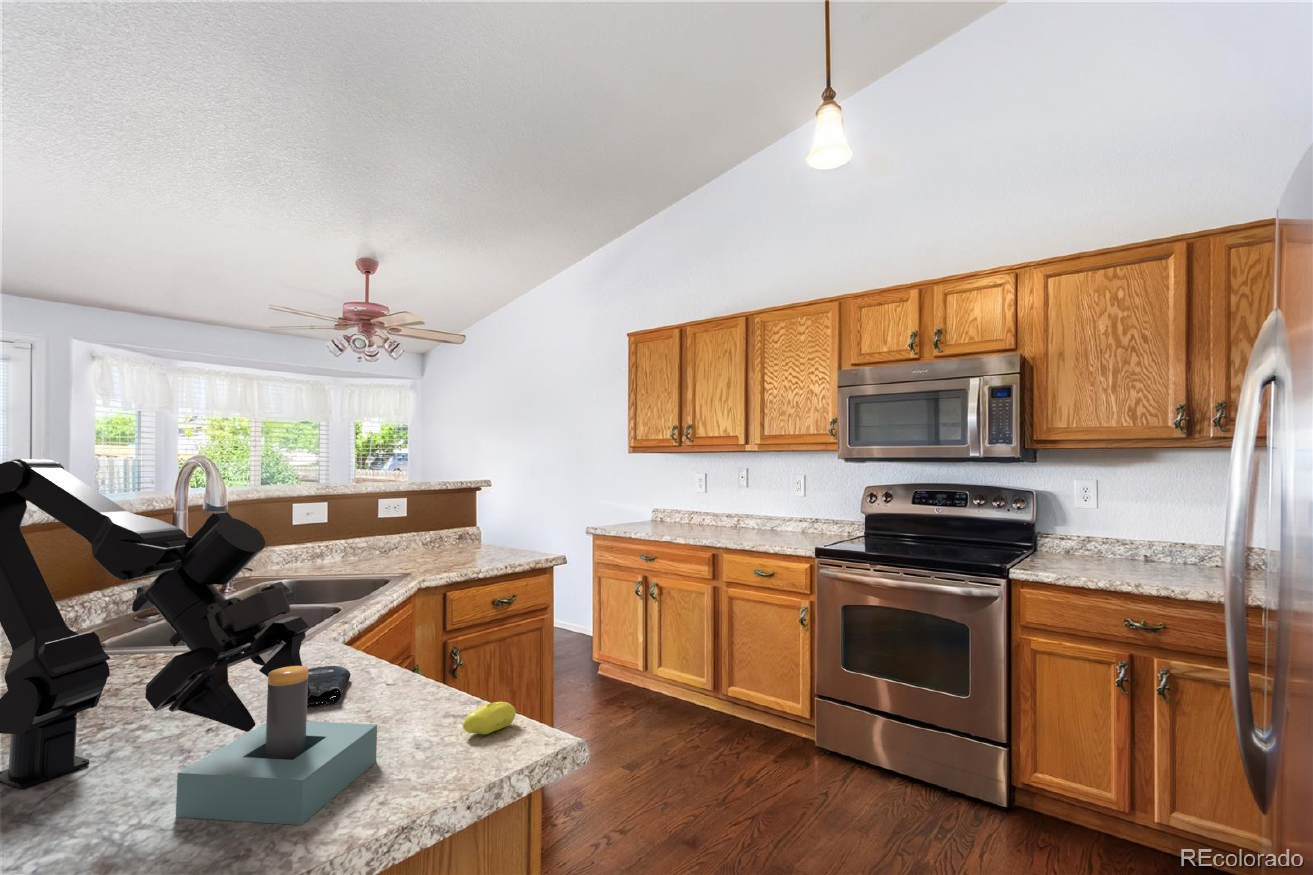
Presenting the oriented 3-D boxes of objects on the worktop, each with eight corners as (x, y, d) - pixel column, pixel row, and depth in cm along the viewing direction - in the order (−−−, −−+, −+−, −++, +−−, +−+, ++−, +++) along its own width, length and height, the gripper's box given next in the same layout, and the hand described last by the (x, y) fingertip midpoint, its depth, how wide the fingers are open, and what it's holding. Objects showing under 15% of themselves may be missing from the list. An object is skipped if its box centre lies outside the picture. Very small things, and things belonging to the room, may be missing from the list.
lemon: (522, 728, 88) (522, 700, 88) (469, 745, 83) (469, 715, 83) (507, 719, 91) (508, 692, 91) (455, 735, 86) (455, 706, 86)
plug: (260, 786, 71) (264, 671, 72) (299, 775, 74) (303, 663, 75) (268, 800, 68) (272, 679, 69) (308, 787, 71) (312, 671, 72)
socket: (175, 817, 65) (177, 772, 65) (271, 755, 79) (272, 719, 79) (301, 825, 64) (302, 779, 64) (376, 761, 78) (377, 724, 78)
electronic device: (348, 714, 97) (352, 672, 110) (343, 681, 96) (348, 642, 110) (279, 732, 93) (292, 686, 107) (273, 697, 92) (288, 655, 106)
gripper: (176, 578, 64) (272, 692, 62) (298, 553, 82) (374, 641, 81) (102, 652, 64) (195, 769, 63) (240, 612, 83) (315, 700, 81)
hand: (281, 712), depth 72 cm, fingers open, 9 cm apart
